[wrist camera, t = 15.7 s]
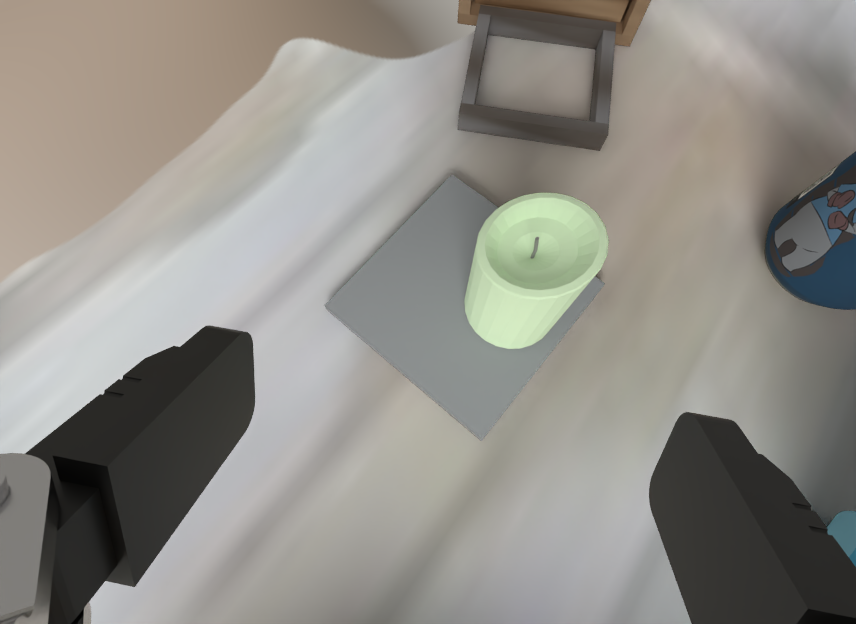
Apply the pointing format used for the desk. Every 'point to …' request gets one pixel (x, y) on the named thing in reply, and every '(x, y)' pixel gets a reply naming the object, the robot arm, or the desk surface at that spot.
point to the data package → (845, 532)
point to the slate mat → (442, 311)
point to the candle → (532, 266)
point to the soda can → (818, 241)
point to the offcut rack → (560, 24)
